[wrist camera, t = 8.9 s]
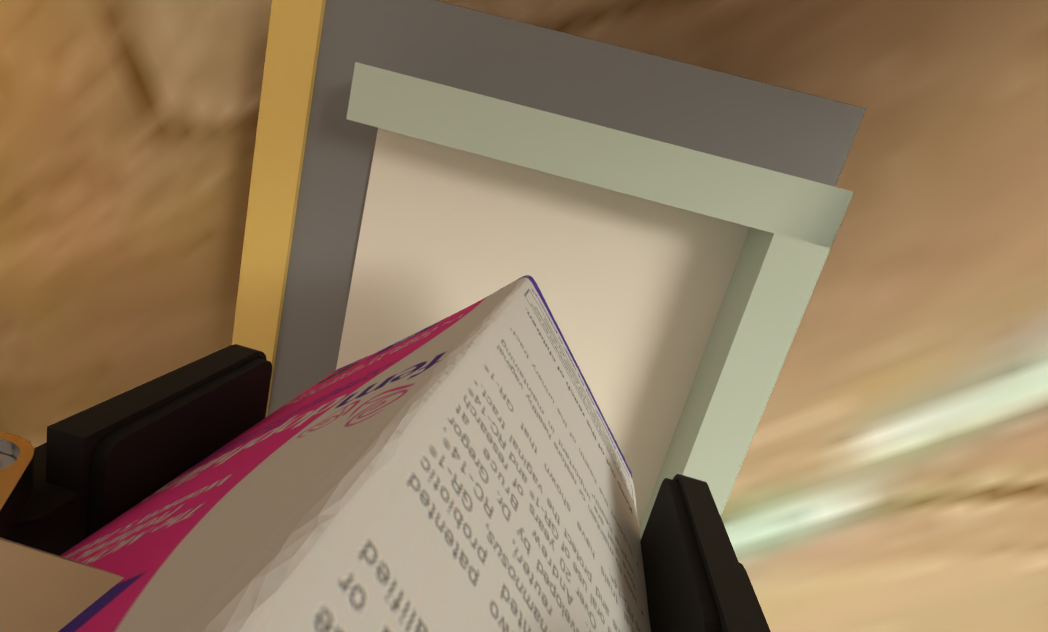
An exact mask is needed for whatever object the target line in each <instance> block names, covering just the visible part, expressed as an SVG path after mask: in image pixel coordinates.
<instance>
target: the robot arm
mask: <svg viewBox="0 0 1048 632" xmlns="http://www.w3.org/2000/svg"><path fill="white" fill-rule="evenodd" d="M271 375H272V363H271V362H270V361H267V359H266V355H265V354H264V352H261V351H258V350H255V349H251V348H248V347H244V346H241V345H238V344H234V345H231V346H228V347H226V348H224V349H222V350H219V351H217V352H215V353H213V354H210V355H208V356H206V357H204V358H201V359H199V360H197V361H195V362H192V363H190V364H188V365H186V366H183V367H181V368H179V369H177V370H174V371H172V372H170V373H168V374H165V375H163V376H161V377H159V378H156V379H154V380H152V381H150V382H147V383H145V384H143V385H141V386H138V387H136V388H134V389H132V390H129V391H127V392H125V393H123V394H120V395H118V396H116V397H114V398H111V399H109V400H107V401H105V402H102V403H100V404H98V405H96V406H93V407H91V408H89V409H87V410H84V411H82V412H80V413H78V414H75V415H73V416H71V417H68V418H66V419H64V420H62V421H59V422H57V423H55V424H53V425H50V426H48V427H47V443H44V444H42V445H40V446H38V447H36V448H34V447H33V446H32V444H31V442H30V441H28V440H26V439H24V438H22V437H20V436H17V435H12V434H8V433H1V432H0V632H58V631H59V630H61V629H62V628H63V627H64V626H66V625H67V624H68V623H69V622H71V621H72V620H73V619H74V618H75V617H77V616H78V615H79V614H80V613H82V612H83V611H84V610H85V609H86V608H88V607H89V606H90V605H91V604H93V603H94V602H95V601H96V600H98V599H99V598H100V597H101V596H102V595H104V594H105V593H106V592H107V591H109V590H110V589H111V588H112V587H113V586H115V585H116V584H117V583H118V582H120V581H121V580H122V579H123V578H124V577H122V576H120V575H118V574H115V573H112V572H109V571H106V570H103V569H99V568H96V567H93V566H90V565H87V564H83V563H80V562H77V561H74V560H71V559H68V558H64V557H61V556H60V555H62V554H63V553H65V552H66V551H67V550H69V549H70V548H72V547H73V546H75V545H76V544H78V543H80V542H81V541H83V540H84V539H86V538H87V537H89V536H90V535H92V534H93V533H95V532H96V531H98V530H99V529H101V528H102V527H104V526H105V525H107V524H108V523H110V522H111V521H113V520H114V519H116V518H117V517H119V516H120V515H121V514H123V513H124V512H126V511H128V510H129V509H131V508H132V507H134V506H135V505H137V504H138V503H139V502H141V501H142V500H144V499H145V498H146V497H148V496H150V495H151V494H153V493H154V492H156V491H157V490H159V489H160V488H162V487H163V486H164V485H166V484H167V483H169V482H170V481H172V480H173V479H175V478H176V477H178V476H179V475H181V474H182V473H184V472H185V471H187V470H188V469H190V468H191V467H193V466H195V465H196V464H198V463H199V462H200V461H202V460H203V459H205V458H206V457H208V456H209V455H211V454H212V453H214V452H215V451H217V450H218V449H220V448H221V447H223V446H224V445H226V444H227V443H229V442H230V441H232V440H233V439H234V438H236V437H237V436H239V435H240V434H242V433H243V432H245V431H246V430H248V429H249V428H251V427H252V426H254V425H255V424H257V423H258V422H260V421H261V420H263V419H264V418H265V416H266V409H267V402H268V396H269V389H270V382H271ZM640 544H641V551H642V558H643V567H644V575H645V583H646V592H647V602H648V611H649V619H650V627H651V632H770V629H769V627H768V624H767V622H766V619H765V617H764V614H763V612H762V609H761V607H760V604H759V602H758V599H757V597H756V595H755V592H754V590H753V587H752V585H751V582H750V580H749V577H748V575H747V572H746V570H745V568H744V567H743V565H742V564H741V563H739V562H738V560H737V557H736V555H735V552H734V550H733V547H732V545H731V542H730V540H729V537H728V534H727V532H726V529H725V527H724V524H723V522H722V519H721V517H720V514H719V512H718V509H717V506H716V504H715V501H714V499H713V496H712V494H711V491H710V489H709V486H708V484H707V482H705V481H701V480H698V479H694V478H691V477H688V476H684V475H681V474H676V475H675V476H674V478H673V480H672V479H668V478H665V479H664V480H663V481H662V484H661V486H660V489H659V491H658V494H657V497H656V500H655V502H654V505H653V508H652V511H651V513H650V516H649V519H648V521H647V524H646V527H645V530H644V532H643V535H642V538H641V540H640Z"/></svg>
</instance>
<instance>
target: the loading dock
mask: <svg viewBox="0 0 1048 632" xmlns="http://www.w3.org/2000/svg"><path fill="white" fill-rule="evenodd" d="M865 111H866V108H862V107H858V106H854V105H850V104H846V103H842V102H838V101H835V100H831V99H827V98H823V97H819V96H815V95H811V94H807V93H803V92H799V91H795V90H791V89H787V88H783V87H779V86H775V85H771V84H767V83H763V82H759V81H755V80H751V79H747V78H743V77H739V76H735V75H731V74H727V73H723V72H719V71H715V70H711V69H707V68H703V67H699V66H695V65H691V64H687V63H683V62H679V61H675V60H671V59H667V58H663V57H659V56H655V55H651V54H647V53H643V52H639V51H635V50H631V49H627V48H623V47H620V46H616V45H612V44H608V43H604V42H600V41H596V40H592V39H588V38H584V37H580V36H576V35H572V34H568V33H564V32H560V31H556V30H552V29H548V28H544V27H540V26H536V25H532V24H528V23H524V22H520V21H516V20H512V19H508V18H504V17H500V16H496V15H492V14H488V13H484V12H480V11H476V10H472V9H468V8H464V7H460V6H456V5H452V4H448V3H444V2H440V1H436V0H272V5H271V13H270V22H269V30H268V39H267V47H266V56H265V64H264V73H263V81H262V90H261V98H260V107H259V115H258V124H257V132H256V141H255V149H254V158H253V167H252V175H251V184H250V192H249V201H248V209H247V218H246V226H245V235H244V243H243V252H242V260H241V269H240V277H239V286H238V294H237V303H236V311H235V320H234V328H233V337H232V345H234V344H238V345H241V346H244V347H248V348H251V349H255V350H258V351H261V352H264V354H265V355H266V359H267V361H270V362H271V363H272V375H271V382H270V389H269V396H268V402H267V409H266V416H265V418H266V417H267V416H269V415H270V414H272V413H273V412H275V411H276V410H278V409H279V408H281V407H282V406H284V405H285V404H287V403H288V402H290V401H291V400H293V399H294V398H296V397H297V396H299V395H300V394H302V393H303V392H305V391H306V390H308V389H309V388H311V387H312V386H314V385H315V384H317V383H318V382H320V381H321V380H323V379H324V378H326V377H327V376H329V375H330V374H332V373H333V372H334V371H336V370H337V369H339V368H342V367H344V366H346V365H349V364H351V363H353V362H355V361H357V360H359V359H362V358H364V357H367V356H369V355H372V354H374V353H376V352H378V351H380V350H382V349H384V348H386V347H388V346H390V345H392V344H394V343H396V342H399V341H401V340H403V339H405V338H407V337H409V336H411V335H413V334H415V333H417V332H419V331H421V330H423V329H425V328H427V327H429V326H431V325H433V324H435V323H437V322H439V321H441V320H443V319H445V318H447V317H449V316H451V315H453V314H455V313H457V312H459V311H461V310H463V309H465V308H467V307H468V306H470V305H472V304H474V303H476V302H478V301H480V300H482V299H484V298H485V297H487V296H489V295H491V294H493V293H494V292H496V291H498V290H500V289H501V288H503V287H505V286H507V285H508V284H510V283H512V282H514V281H515V280H517V279H519V278H521V277H522V276H525V275H530V276H531V277H533V279H534V280H535V282H536V283H537V285H538V287H539V289H540V291H541V293H542V295H543V297H544V299H545V301H546V303H547V305H548V307H549V309H550V311H551V313H552V315H553V317H554V319H555V321H556V323H557V325H558V327H559V329H560V331H561V333H562V335H563V337H564V339H565V341H566V343H567V345H568V347H569V349H570V351H571V353H572V355H573V357H574V359H575V361H576V363H577V365H578V366H579V368H580V370H581V372H582V374H583V376H584V378H585V380H586V382H587V384H588V386H589V388H590V390H591V392H592V394H593V396H594V398H595V400H596V402H597V404H598V406H599V408H600V410H601V412H602V414H603V416H604V418H605V421H606V423H607V425H608V427H609V428H610V430H611V432H612V434H613V436H614V438H615V440H616V441H617V444H618V446H619V448H620V450H621V452H622V453H623V455H624V458H625V460H626V463H627V465H628V467H629V468H630V470H631V473H632V480H633V484H634V490H635V498H636V509H637V516H638V525H639V533H640V540H641V538H642V535H643V532H644V530H645V527H646V524H647V521H648V519H649V516H650V513H651V511H652V508H653V505H654V502H655V500H656V497H657V494H658V491H659V489H660V486H661V484H662V481H663V480H664V479H665V478H668V479H672V480H673V478H674V476H675V475H676V474H681V475H684V476H688V477H691V478H694V479H698V480H701V481H705V482H707V484H708V486H709V489H710V491H711V494H712V496H713V499H714V501H715V504H716V506H717V509H718V512H719V514H720V516H721V514H722V512H723V509H724V507H725V504H726V502H727V499H728V497H729V495H730V492H731V490H732V487H733V485H734V482H735V480H736V478H737V475H738V473H739V470H740V468H741V465H742V463H743V461H744V458H745V456H746V453H747V451H748V448H749V446H750V443H751V441H752V439H753V436H754V434H755V431H756V429H757V426H758V424H759V422H760V419H761V417H762V414H763V412H764V409H765V407H766V405H767V402H768V400H769V397H770V395H771V392H772V390H773V388H774V385H775V383H776V380H777V378H778V375H779V373H780V371H781V368H782V366H783V363H784V361H785V358H786V356H787V353H788V351H789V349H790V346H791V344H792V341H793V339H794V336H795V334H796V332H797V329H798V327H799V324H800V322H801V319H802V317H803V315H804V312H805V310H806V307H807V305H808V302H809V300H810V298H811V295H812V293H813V290H814V288H815V285H816V283H817V281H818V278H819V276H820V273H821V271H822V268H823V266H824V263H825V261H826V259H827V256H828V254H829V251H830V249H831V246H832V244H833V242H834V239H835V237H836V234H837V232H838V229H839V227H840V225H841V222H842V220H843V217H844V215H845V212H846V210H847V208H848V205H849V203H850V200H851V198H852V195H853V193H854V192H853V191H849V190H845V189H842V188H838V187H835V186H836V183H837V181H838V178H839V176H840V173H841V171H842V168H843V166H844V163H845V161H846V158H847V156H848V153H849V151H850V148H851V146H852V143H853V141H854V138H855V136H856V133H857V131H858V128H859V126H860V123H861V121H862V118H863V116H864V113H865Z"/></svg>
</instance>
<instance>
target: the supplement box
mask: <svg viewBox="0 0 1048 632" xmlns="http://www.w3.org/2000/svg"><path fill="white" fill-rule="evenodd" d="M60 556H61V557H64V558H68V559H71V560H74V561H77V562H80V563H83V564H87V565H90V566H93V567H96V568H99V569H103V570H106V571H109V572H112V573H115V574H118V575H120V576H122V577H124V578H123V579H122V580H121V581H120V582H118V583H117V584H116V585H115V586H113V587H112V588H111V589H110V590H109V591H107V592H106V593H105V594H104V595H102V596H101V597H100V598H99V599H98V600H96V601H95V602H94V603H93V604H91V605H90V606H89V607H88V608H86V609H85V610H84V611H83V612H82V613H80V614H79V615H78V616H77V617H75V618H74V619H73V620H72V621H71V622H69V623H68V624H67V625H66V626H64V627H63V628H62V629H61V630H59V631H58V632H651V627H650V619H649V611H648V602H647V592H646V583H645V575H644V567H643V558H642V551H641V544H640V533H639V525H638V516H637V509H636V498H635V490H634V484H633V480H632V473H631V470H630V468H629V467H628V465H627V463H626V460H625V458H624V455H623V453H622V452H621V450H620V448H619V446H618V444H617V441H616V440H615V438H614V436H613V434H612V432H611V430H610V428H609V427H608V425H607V423H606V421H605V418H604V416H603V414H602V412H601V410H600V408H599V406H598V404H597V402H596V400H595V398H594V396H593V394H592V392H591V390H590V388H589V386H588V384H587V382H586V380H585V378H584V376H583V374H582V372H581V370H580V368H579V366H578V365H577V363H576V361H575V359H574V357H573V355H572V353H571V351H570V349H569V347H568V345H567V343H566V341H565V339H564V337H563V335H562V333H561V331H560V329H559V327H558V325H557V323H556V321H555V319H554V317H553V315H552V313H551V311H550V309H549V307H548V305H547V303H546V301H545V299H544V297H543V295H542V293H541V291H540V289H539V287H538V285H537V283H536V282H535V280H534V279H533V277H531V276H530V275H525V276H522V277H521V278H519V279H517V280H515V281H514V282H512V283H510V284H508V285H507V286H505V287H503V288H501V289H500V290H498V291H496V292H494V293H493V294H491V295H489V296H487V297H485V298H484V299H482V300H480V301H478V302H476V303H474V304H472V305H470V306H468V307H467V308H465V309H463V310H461V311H459V312H457V313H455V314H453V315H451V316H449V317H447V318H445V319H443V320H441V321H439V322H437V323H435V324H433V325H431V326H429V327H427V328H425V329H423V330H421V331H419V332H417V333H415V334H413V335H411V336H409V337H407V338H405V339H403V340H401V341H399V342H396V343H394V344H392V345H390V346H388V347H386V348H384V349H382V350H380V351H378V352H376V353H374V354H372V355H369V356H367V357H364V358H362V359H359V360H357V361H355V362H353V363H351V364H349V365H346V366H344V367H342V368H339V369H337V370H336V371H334V372H333V373H332V374H330V375H329V376H327V377H326V378H324V379H323V380H321V381H320V382H318V383H317V384H315V385H314V386H312V387H311V388H309V389H308V390H306V391H305V392H303V393H302V394H300V395H299V396H297V397H296V398H294V399H293V400H291V401H290V402H288V403H287V404H285V405H284V406H282V407H281V408H279V409H278V410H276V411H275V412H273V413H272V414H270V415H269V416H267V417H266V418H264V419H263V420H261V421H260V422H258V423H257V424H255V425H254V426H252V427H251V428H249V429H248V430H246V431H245V432H243V433H242V434H240V435H239V436H237V437H236V438H234V439H233V440H232V441H230V442H229V443H227V444H226V445H224V446H223V447H221V448H220V449H218V450H217V451H215V452H214V453H212V454H211V455H209V456H208V457H206V458H205V459H203V460H202V461H200V462H199V463H198V464H196V465H195V466H193V467H191V468H190V469H188V470H187V471H185V472H184V473H182V474H181V475H179V476H178V477H176V478H175V479H173V480H172V481H170V482H169V483H167V484H166V485H164V486H163V487H162V488H160V489H159V490H157V491H156V492H154V493H153V494H151V495H150V496H148V497H146V498H145V499H144V500H142V501H141V502H139V503H138V504H137V505H135V506H134V507H132V508H131V509H129V510H128V511H126V512H124V513H123V514H121V515H120V516H119V517H117V518H116V519H114V520H113V521H111V522H110V523H108V524H107V525H105V526H104V527H102V528H101V529H99V530H98V531H96V532H95V533H93V534H92V535H90V536H89V537H87V538H86V539H84V540H83V541H81V542H80V543H78V544H76V545H75V546H73V547H72V548H70V549H69V550H67V551H66V552H65V553H63V554H62V555H60Z"/></svg>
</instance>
